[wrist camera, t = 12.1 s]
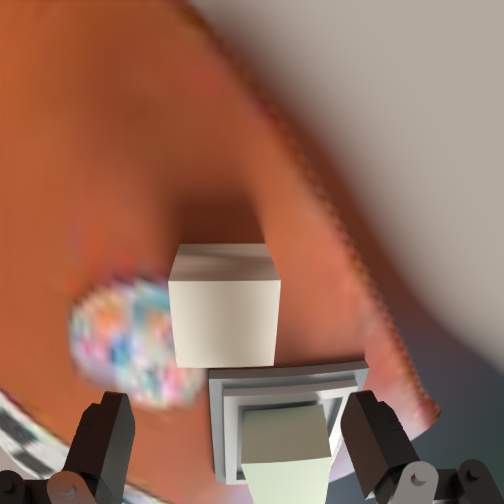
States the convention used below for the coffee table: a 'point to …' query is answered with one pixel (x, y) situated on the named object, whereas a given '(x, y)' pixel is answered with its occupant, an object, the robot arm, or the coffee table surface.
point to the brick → (286, 455)
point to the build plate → (275, 404)
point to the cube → (224, 305)
